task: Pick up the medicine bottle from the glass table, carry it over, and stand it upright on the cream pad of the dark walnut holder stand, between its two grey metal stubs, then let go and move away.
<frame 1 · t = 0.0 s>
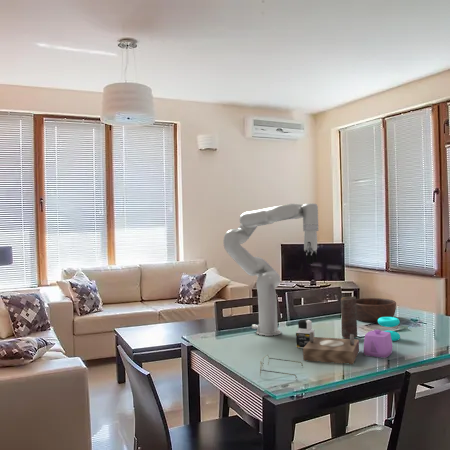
hand: (311, 262, 234), 37 cm above the table, tool pointing down, fingers open, 9 cm apart
wooden bowl: (373, 319, 270), on the table
holder stand: (332, 355, 199), on the table
eyeglasses: (280, 373, 180), on the table
brown rusty cylinder: (349, 338, 227), on the table
medicine bottle: (305, 346, 215), on the table
teapot: (378, 354, 199), on the table
donuts: (389, 339, 223), on the table
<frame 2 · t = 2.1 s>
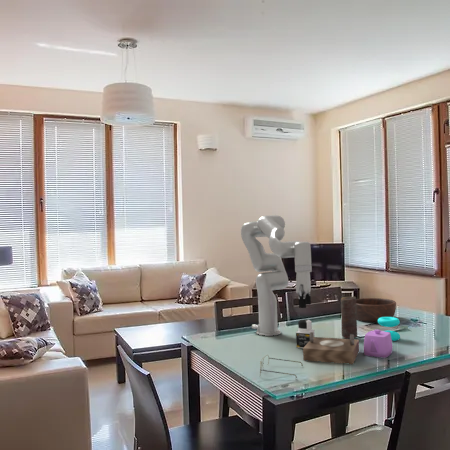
hand: (305, 306, 215), 19 cm above the table, tool pointing down, fingers open, 9 cm apart
nothing on the table moved.
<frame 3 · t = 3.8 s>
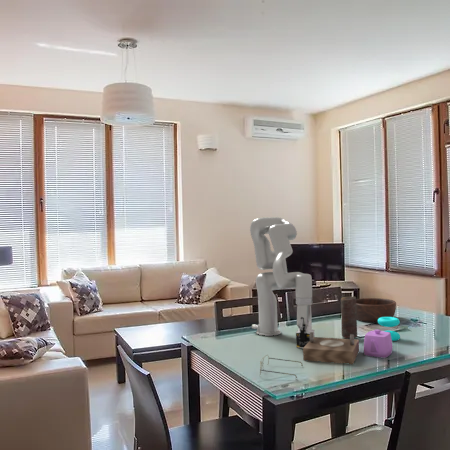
hand: (305, 339, 215), 3 cm above the table, tool pointing down, fingers closed on medicine bottle, 7 cm apart
medicine bottle: (305, 346, 215), on the table, touching gripper
everything else where it was.
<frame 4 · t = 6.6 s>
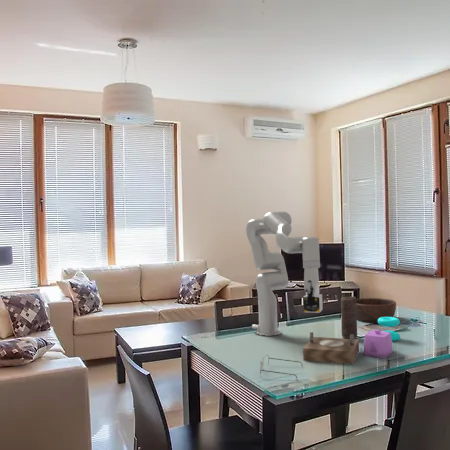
hand: (313, 303, 209), 20 cm above the table, tool pointing down, fingers closed on medicine bottle, 7 cm apart
medicine bottle: (313, 311, 209), point 17 cm above the table, touching gripper
everything else where it was.
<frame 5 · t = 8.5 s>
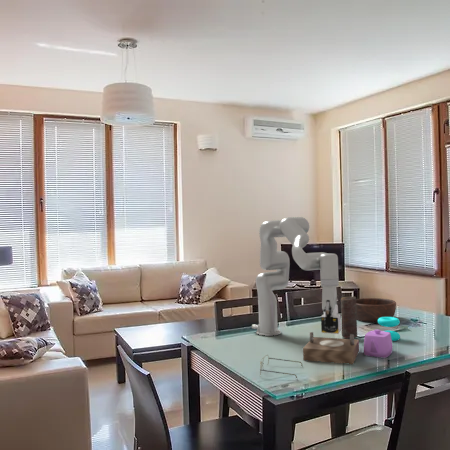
hand: (331, 324, 199), 13 cm above the table, tool pointing down, fingers closed on medicine bottle, 7 cm apart
medicine bottle: (331, 332, 199), point 10 cm above the table, touching gripper
everything else where it was.
when the fingers open (10 cm above the table, at t = 9.6 s): medicine bottle drops 2 cm, resting on holder stand.
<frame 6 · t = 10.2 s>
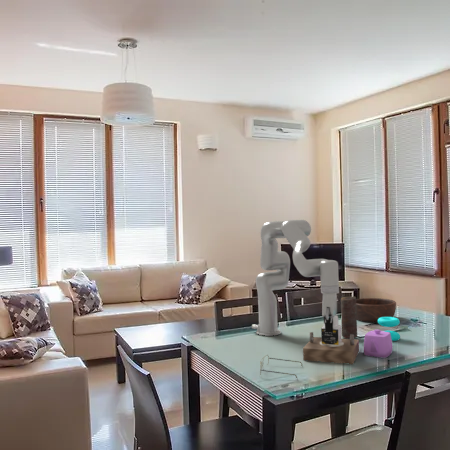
hand: (331, 329, 199), 11 cm above the table, tool pointing down, fingers open, 9 cm apart
medicine bottle: (331, 343, 199), point 5 cm above the table, touching holder stand
everything else where it was.
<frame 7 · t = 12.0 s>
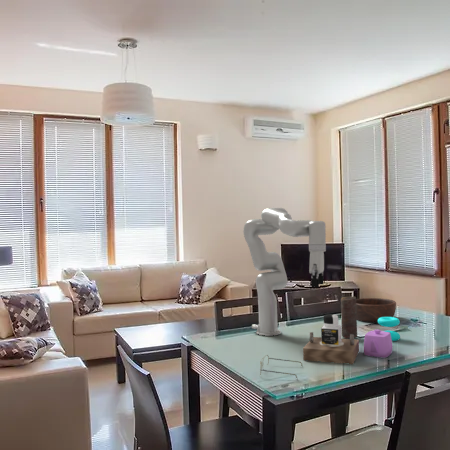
hand: (317, 285, 213), 28 cm above the table, tool pointing down, fingers open, 9 cm apart
nothing on the table moved.
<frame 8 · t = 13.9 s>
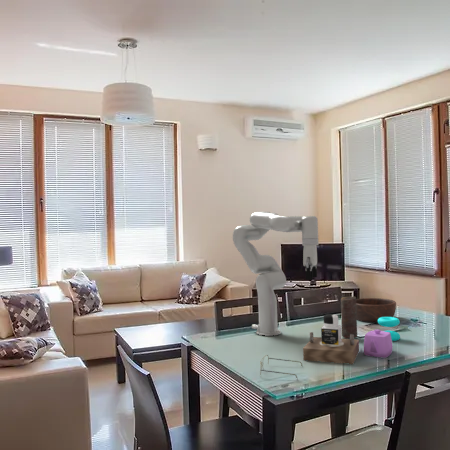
hand: (311, 278, 222), 30 cm above the table, tool pointing down, fingers open, 9 cm apart
nothing on the table moved.
at the end: medicine bottle inside the target area on the holder stand (0.1 cm from its centre), point 5.1 cm above the holder stand's base; medicine bottle tilted 0°; the gripper is holding nothing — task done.
